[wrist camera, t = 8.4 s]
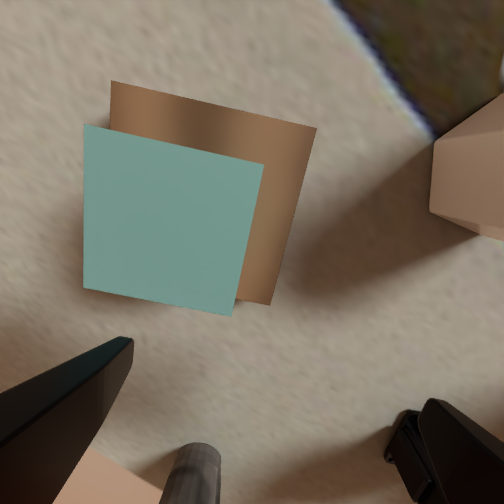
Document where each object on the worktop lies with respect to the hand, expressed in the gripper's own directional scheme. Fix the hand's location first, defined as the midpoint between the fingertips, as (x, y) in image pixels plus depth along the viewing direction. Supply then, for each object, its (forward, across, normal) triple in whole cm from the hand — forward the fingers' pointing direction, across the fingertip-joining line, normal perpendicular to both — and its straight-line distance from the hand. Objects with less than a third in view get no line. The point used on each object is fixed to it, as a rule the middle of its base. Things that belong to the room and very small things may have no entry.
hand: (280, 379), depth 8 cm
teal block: (+9, +5, -3) cm, 11 cm away
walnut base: (+12, +5, -3) cm, 13 cm away
